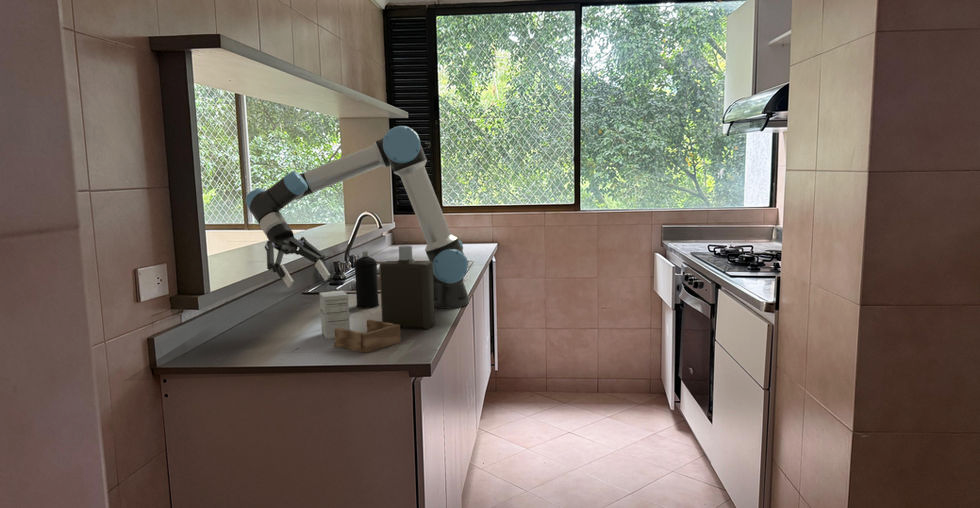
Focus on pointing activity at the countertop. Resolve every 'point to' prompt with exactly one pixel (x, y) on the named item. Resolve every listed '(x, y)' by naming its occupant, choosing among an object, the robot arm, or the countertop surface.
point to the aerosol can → (366, 282)
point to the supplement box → (334, 312)
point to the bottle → (407, 291)
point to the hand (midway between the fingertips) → (309, 281)
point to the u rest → (368, 337)
